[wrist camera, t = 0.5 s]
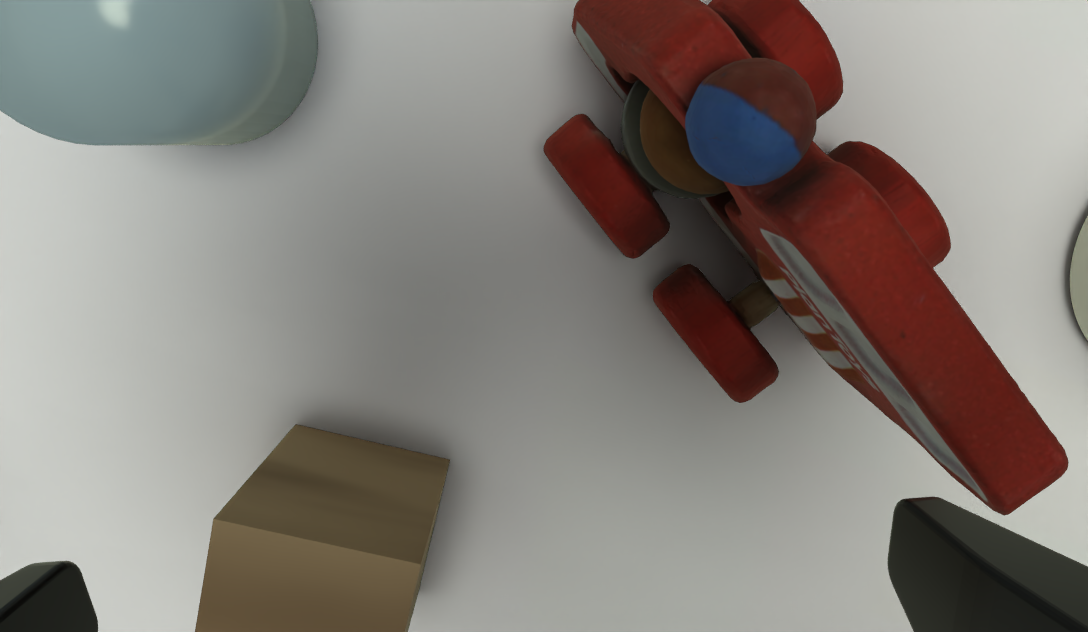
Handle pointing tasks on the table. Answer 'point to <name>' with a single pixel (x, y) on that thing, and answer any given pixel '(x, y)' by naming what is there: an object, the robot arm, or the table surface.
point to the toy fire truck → (794, 227)
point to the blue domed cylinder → (155, 68)
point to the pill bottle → (1080, 279)
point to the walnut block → (323, 539)
